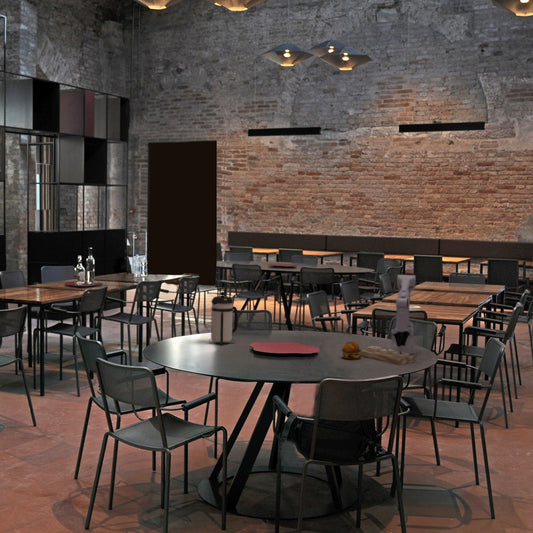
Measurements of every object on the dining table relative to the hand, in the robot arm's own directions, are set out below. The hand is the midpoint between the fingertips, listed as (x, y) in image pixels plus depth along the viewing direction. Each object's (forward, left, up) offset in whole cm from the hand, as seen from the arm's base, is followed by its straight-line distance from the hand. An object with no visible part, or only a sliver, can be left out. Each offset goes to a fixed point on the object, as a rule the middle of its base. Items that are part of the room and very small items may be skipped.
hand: (400, 345), depth 391 cm
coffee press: (+46, -94, -9) cm, 105 cm away
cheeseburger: (+15, -21, -9) cm, 27 cm away
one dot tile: (0, -18, -6) cm, 19 cm away
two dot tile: (0, -9, -6) cm, 11 cm away
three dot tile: (0, 0, -6) cm, 6 cm away
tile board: (0, -9, -8) cm, 12 cm away
